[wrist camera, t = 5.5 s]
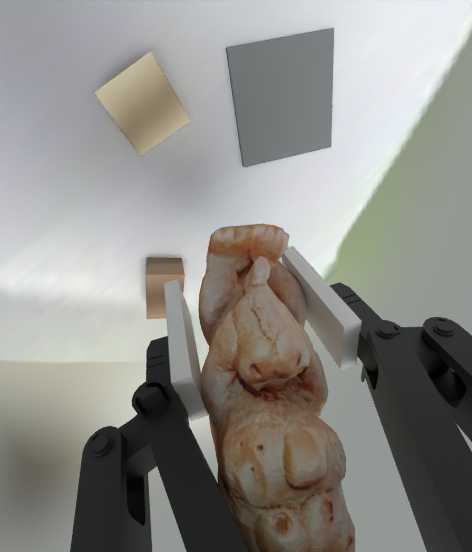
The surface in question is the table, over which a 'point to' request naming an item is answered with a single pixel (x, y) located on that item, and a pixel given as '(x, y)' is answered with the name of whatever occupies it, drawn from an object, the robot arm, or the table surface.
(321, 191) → the table surface
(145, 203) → the table surface
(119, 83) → the beech block
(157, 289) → the walnut block
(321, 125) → the grey mat
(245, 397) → the figurine
